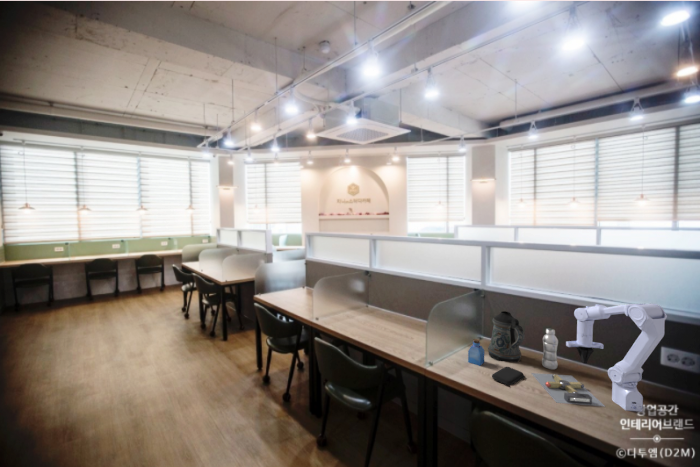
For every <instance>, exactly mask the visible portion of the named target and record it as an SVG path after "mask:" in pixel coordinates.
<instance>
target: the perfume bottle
mask: <svg viewBox="0 0 700 467" xmlns="http://www.w3.org/2000/svg"><path fill="white" fill-rule="evenodd" d="M480 341H481V340H480V339H478V338H473V340H472V345H471V346H470V347H469V349H468V350H467V353H468V354H467V356H468V357H467V363H469V364H472V365H476V366H479V367H481V365H483V364H484V363H485V349H484V348H483V346H482V345H481V342H480Z"/></svg>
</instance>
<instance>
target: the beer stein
mask: <svg viewBox="0 0 700 467" xmlns="http://www.w3.org/2000/svg"><path fill="white" fill-rule="evenodd" d="M492 323H493V327H492V333H491V338H490V342H489V344H488V346H487V351H488V355H489V357H490V358H491V359H492V360H495V361H498V362H505V363H506V362H508V363H519V362H518V361H521V359H522V358H521V356H522V352H521V348H520V346H521V345H522V343H523V342H524V340H525V336H526V335H525V331H524V329H523V327H522V326H521V325H520V321H519V319H518V318H515V317H514V316H513V315H512V314H511V312H510V311H507V310H504V311H501V312H499V314H497V315H495V316H493V318H492Z"/></svg>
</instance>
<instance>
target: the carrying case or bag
mask: <svg viewBox="0 0 700 467" xmlns="http://www.w3.org/2000/svg"><path fill="white" fill-rule="evenodd" d="M491 378H492V379H493V381H496V382H497V383H501V384H503V385H505V386H507V387H510V386H513V385H515V384H516V383H518V382H519V381H521V380H522V381H524V380H525V378H526V376H525V374H524V373H523V372H522V371H521V370H520V371H519V370H517V369H515V368H513V367H510V366H504V367H502V368H501V369H499V370H497V371H495V372H493V373H492V375H491Z"/></svg>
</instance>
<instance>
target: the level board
mask: <svg viewBox="0 0 700 467" xmlns="http://www.w3.org/2000/svg"><path fill="white" fill-rule="evenodd" d="M553 374H554V373H553ZM553 374H551V373H550V374H549V373H539V372H538V373H534V372H531V375H532V377H534V378H535V380H537V382H538V383H539V384H540V386H542V388H543V389H544V390H545V391H546V393H548V395H549V396H550V397H551V398H552V399H553V400H554V402H555V403H557V404H571V405H580V406H581V405H582V406H594V407H605V408H606V405H604V403H602V401H600V400H599V399H598V398H597V397H596V396H595V395H594V394H593V393H592V392H590V391H589V390H588V389H587V388H586V387H585V386H584V388H582V389H578V388H573V389H575V390H576V391H577V393H580V394H589V395H590V396H591V397H592V404H582V403H569V402H567V401H566V400H565V399H564V392H566V393H569V392H568V391H567V390H562V389H559V388H549V387H547V386H546V385H545V383H546V382H547V381H549V382H556V381H555V380H554V379H553V377H552V375H553ZM557 375H558V376H559V377H560V378H561V379H563V380H565V381H568V382H579V381H578V380H577V379H576V378H575V377H574V376H573V375H566V374H557Z"/></svg>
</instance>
